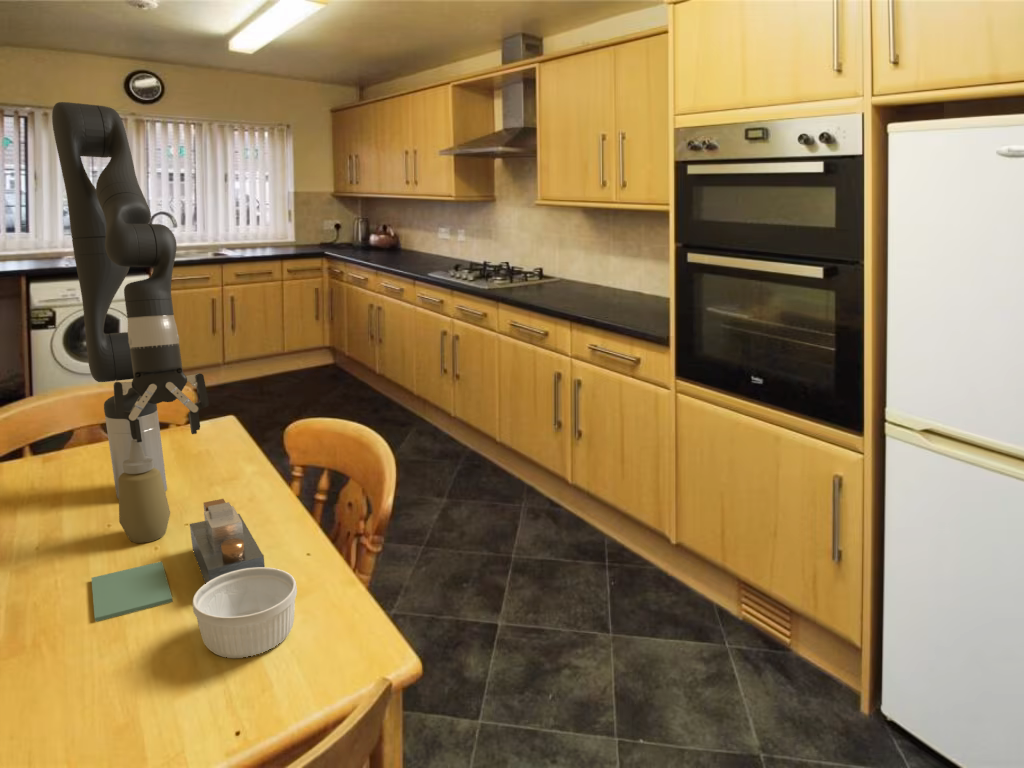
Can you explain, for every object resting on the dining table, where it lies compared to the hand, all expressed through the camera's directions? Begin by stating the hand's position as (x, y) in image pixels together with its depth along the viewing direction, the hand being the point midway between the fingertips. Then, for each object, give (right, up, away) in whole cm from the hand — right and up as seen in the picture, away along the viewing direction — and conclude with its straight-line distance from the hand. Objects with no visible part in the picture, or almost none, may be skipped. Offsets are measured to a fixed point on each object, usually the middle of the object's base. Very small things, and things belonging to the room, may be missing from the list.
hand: (167, 437), depth 120 cm
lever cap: (+13, -16, -7) cm, 22 cm away
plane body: (+13, -21, -6) cm, 25 cm away
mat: (+1, -23, -13) cm, 26 cm away
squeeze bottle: (-6, -18, +5) cm, 20 cm away
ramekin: (+23, -26, -23) cm, 42 cm away
